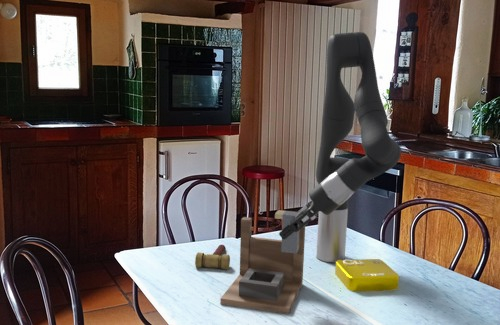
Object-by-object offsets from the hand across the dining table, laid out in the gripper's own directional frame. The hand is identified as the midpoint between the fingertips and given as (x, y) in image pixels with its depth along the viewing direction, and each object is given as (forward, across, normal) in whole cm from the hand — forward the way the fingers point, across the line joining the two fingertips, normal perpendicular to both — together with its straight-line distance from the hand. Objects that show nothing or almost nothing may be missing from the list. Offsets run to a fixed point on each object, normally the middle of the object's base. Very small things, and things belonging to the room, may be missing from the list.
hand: (283, 233), depth 139 cm
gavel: (+31, -24, -5) cm, 39 cm away
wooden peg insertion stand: (+16, -1, +9) cm, 18 cm away
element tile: (-2, -20, +28) cm, 35 cm away
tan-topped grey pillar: (+2, 0, +4) cm, 5 cm away
